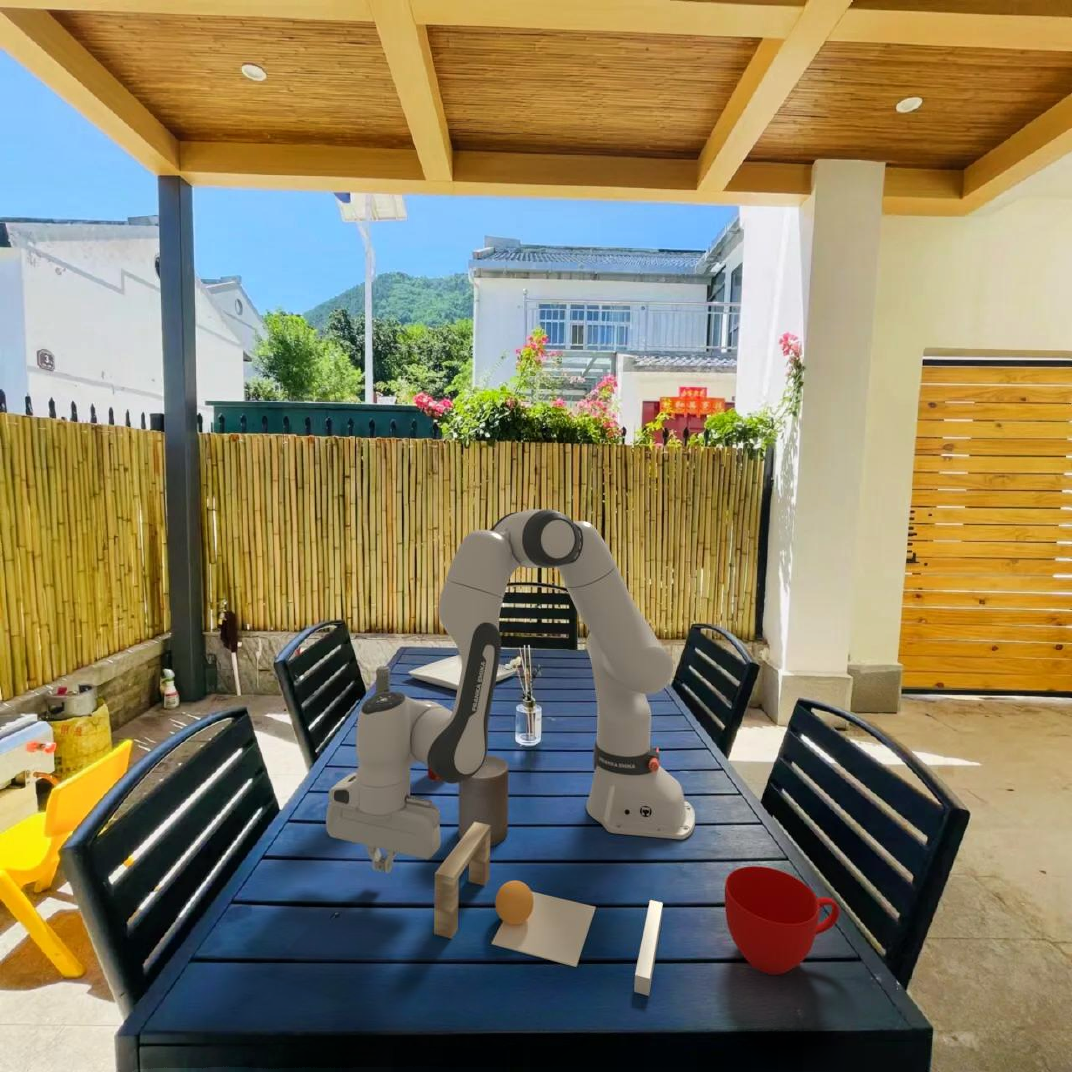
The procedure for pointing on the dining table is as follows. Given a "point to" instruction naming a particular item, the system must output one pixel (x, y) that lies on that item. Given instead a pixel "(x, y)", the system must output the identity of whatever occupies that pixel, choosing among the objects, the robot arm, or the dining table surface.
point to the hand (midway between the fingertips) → (382, 869)
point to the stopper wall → (648, 948)
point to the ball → (514, 902)
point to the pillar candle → (486, 799)
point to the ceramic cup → (773, 917)
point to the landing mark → (549, 930)
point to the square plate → (450, 672)
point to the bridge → (447, 876)
